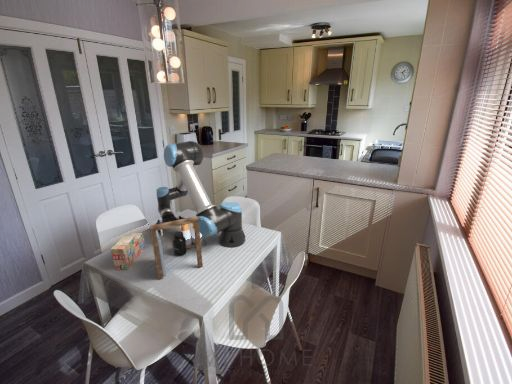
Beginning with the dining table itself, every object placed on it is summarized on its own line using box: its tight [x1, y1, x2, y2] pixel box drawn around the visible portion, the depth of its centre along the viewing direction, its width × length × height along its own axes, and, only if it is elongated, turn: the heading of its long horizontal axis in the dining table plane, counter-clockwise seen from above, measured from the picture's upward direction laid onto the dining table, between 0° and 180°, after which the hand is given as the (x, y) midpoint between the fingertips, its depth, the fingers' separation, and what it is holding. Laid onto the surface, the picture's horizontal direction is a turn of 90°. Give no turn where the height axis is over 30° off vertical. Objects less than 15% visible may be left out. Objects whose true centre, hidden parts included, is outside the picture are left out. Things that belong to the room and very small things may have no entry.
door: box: [156, 230, 167, 277], centre depth 130 cm, size 14×2×18 cm, turn 27°
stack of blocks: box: [110, 232, 146, 271], centre depth 140 cm, size 21×6×12 cm, turn 178°
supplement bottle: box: [171, 231, 188, 257], centre depth 144 cm, size 7×7×12 cm
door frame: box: [149, 215, 204, 280], centre depth 126 cm, size 21×2×27 cm, turn 117°
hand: (174, 230), depth 151 cm, fingers open, 13 cm apart
